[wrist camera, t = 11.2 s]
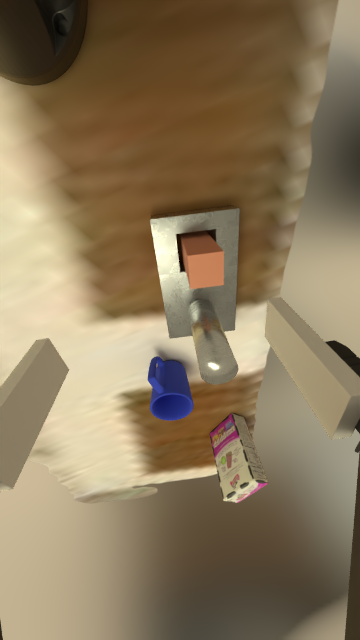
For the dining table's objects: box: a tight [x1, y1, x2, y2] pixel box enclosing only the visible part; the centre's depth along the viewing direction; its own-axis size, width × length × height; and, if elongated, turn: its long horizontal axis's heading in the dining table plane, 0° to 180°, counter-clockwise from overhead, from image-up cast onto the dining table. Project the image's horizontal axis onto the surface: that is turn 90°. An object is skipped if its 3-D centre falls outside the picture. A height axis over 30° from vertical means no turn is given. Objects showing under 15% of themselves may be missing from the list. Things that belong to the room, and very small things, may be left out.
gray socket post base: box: [150, 206, 240, 384], centre depth 30 cm, size 20×12×18 cm, turn 6°
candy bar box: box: [210, 413, 268, 503], centre depth 56 cm, size 11×5×16 cm, turn 150°
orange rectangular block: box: [180, 231, 224, 289], centre depth 30 cm, size 4×4×12 cm
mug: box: [148, 356, 193, 420], centre depth 44 cm, size 8×12×10 cm
